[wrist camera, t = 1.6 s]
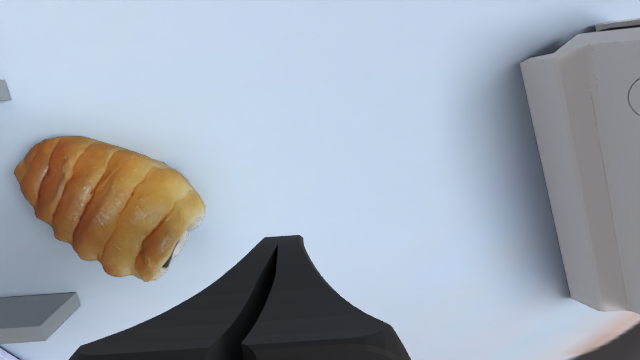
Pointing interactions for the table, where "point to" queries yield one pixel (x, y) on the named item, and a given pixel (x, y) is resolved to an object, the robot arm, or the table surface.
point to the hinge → (593, 159)
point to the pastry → (111, 203)
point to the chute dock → (33, 305)
